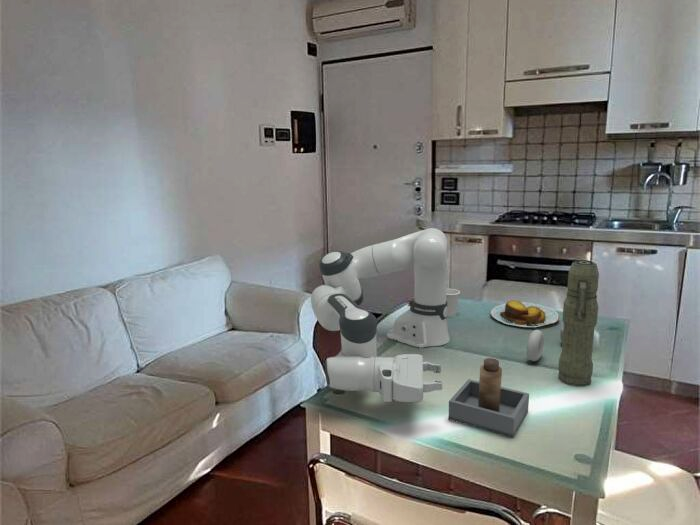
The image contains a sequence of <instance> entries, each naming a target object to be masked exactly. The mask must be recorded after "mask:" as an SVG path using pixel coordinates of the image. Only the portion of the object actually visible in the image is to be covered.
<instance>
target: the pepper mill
mask: <svg viewBox="0 0 700 525" xmlns="http://www.w3.org/2000/svg"><path fill="white" fill-rule="evenodd" d="M499 364H500V361H499V360H498V359H496V358H491V357H487V358H484V359H483V364H482V365H480V367H479V401H478V407H481V408H485V409H489V410H492V411H496V412H499V409H500V393H501V387H502V376H503V375H502V373H503V369H502V367H501V366H500V365H499Z"/></svg>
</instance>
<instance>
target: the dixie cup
mask: <svg viewBox="0 0 700 525" xmlns="http://www.w3.org/2000/svg"><path fill="white" fill-rule="evenodd" d="M460 293H461V291H460V290H459V289H456V288H447V291H446V300H447V307H448V313H447V318H454V317H456V316H457V311H458V305H459V299H460Z"/></svg>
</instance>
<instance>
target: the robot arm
mask: <svg viewBox="0 0 700 525" xmlns="http://www.w3.org/2000/svg"><path fill="white" fill-rule="evenodd" d="M318 265H319V267H318V268H319V271H320V274H321V275H322V278H323V281H324V284H322V285H318V287H315V289H314V290H313V291H312V292H311V295H310V305H311V308H312V312H313V313H314V316H315V317H316V320H317V322H318V323H319V324H320V325H321V327H322V328H323V329H325V330H327V331H331V332H338V331H340V343H341V350H340V351H339V352H338V354H336V355H335V356H330V357H327V358H326V360H325V363H324V364H325V366H324V368H325V379H326V384H327V386H328V387H329V388H332V389H334V390H335V389H336V390H340V391H349V392H351V391H352V392H361V391H370V392H373V393H374V392H375V393H378V394H379V395H380V397H381V399H382V401H383V402H384V403H391V402H393V401H394V402H395V401H396V402H401V403H402V402H403V403H417V402H421V401H423V400H424V393H431V392H434V391H442V390H443V381H441V380H434V381H433V382H428V381H424V372H428V371H430V372H433V374H440V373H441V372H442V367H441V364H437V363H436V364H435V363H432V362H429V361H424V356H423V355H422V354H419V353H407V354H406V353H405V354H397V355H396V356H395V357H388V356H387V357H385V356H377V355H378V348H377V345H378V344H377V330H378V328H377V327H378V320H377V317H376V316H375V315H374V314H373V313H372V312H370V311H369V310H367V309H364V308H362V307H361V304H362V303H363V302H364V290H363V289H362V287H361V286H362V285H361V283H360V281H359V279H365V278H374V277H379V276H383V275H387V274H392V273H396V272H400V271H401V272H402V271H404V270H405V269H408V268H411V267H413V275H414V295H413V298H412V299H411V300H410V301H409V302H408V303H407V307H409V309H408V310H406V311H405V312H403V313H402V314H400V315H398V317H397V318H396V319H395V321H394V323H393V328H391V329H389V330H388V332H387V333H386V337H387V338H388V339H390V340H393V339H394V340H393V341H396V340H397V342H400V343H404V344H405V343H406V344H405V345H408V346H413V347H415V348H418V347H419V348H418V349H421V348H427V347H439V346H443V345H446V344H448V343H450V341H451V338H450V334H449V329H448V321H447V320H448V317H447V313H448V307H447V300H446V291H447V289H448V288H447V286H448V279H447V276H448V274H447V272H448V239H447V236H446V234H445V233H444V232H443V231H442V230H441V229H437V228H434V227H429V228H426V229H422V230H418V231H416V232H413V233H409V234H406V235H404V236H401V237H399V238H395V239H391V240H387V241H384V242H379V243H375V244H371V245H368V246H365V247H362V248H359V249H357V250H354V251H353V252H351V253H349V252H345V251H340V250H334V251H330V252H328V253H326V254H324V255H323V256H322V257H321V258H320V260H319V261H318Z"/></svg>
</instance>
